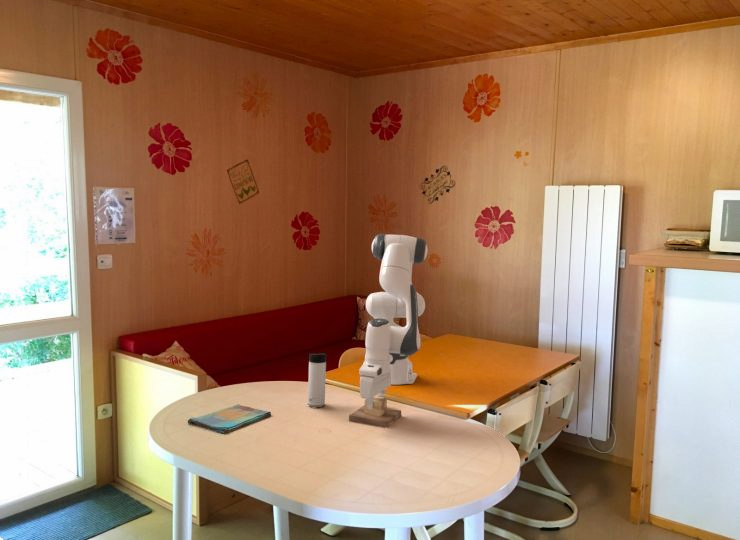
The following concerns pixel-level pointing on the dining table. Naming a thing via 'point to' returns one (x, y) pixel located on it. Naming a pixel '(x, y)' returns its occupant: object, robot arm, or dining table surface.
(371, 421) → the base board
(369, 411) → the oak block
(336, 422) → the dining table surface
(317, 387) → the travel mug
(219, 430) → the dish towel
